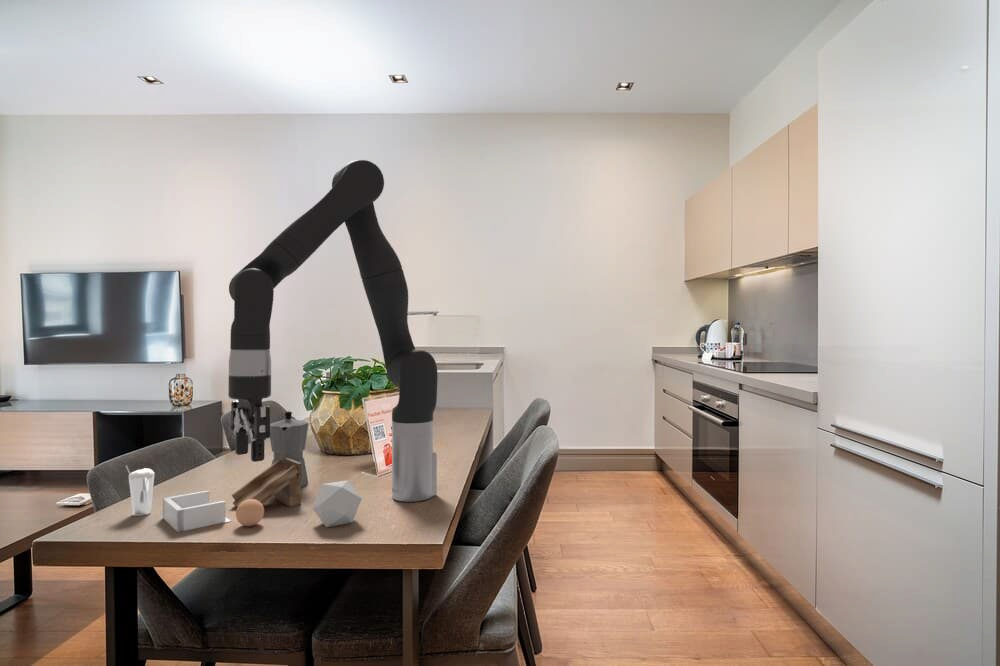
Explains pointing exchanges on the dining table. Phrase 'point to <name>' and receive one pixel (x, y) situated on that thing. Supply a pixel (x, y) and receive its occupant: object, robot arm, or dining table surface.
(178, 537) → the dining table surface
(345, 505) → the die
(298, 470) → the ramp
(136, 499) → the milkshake
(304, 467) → the coffeepot
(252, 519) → the ball
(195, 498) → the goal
